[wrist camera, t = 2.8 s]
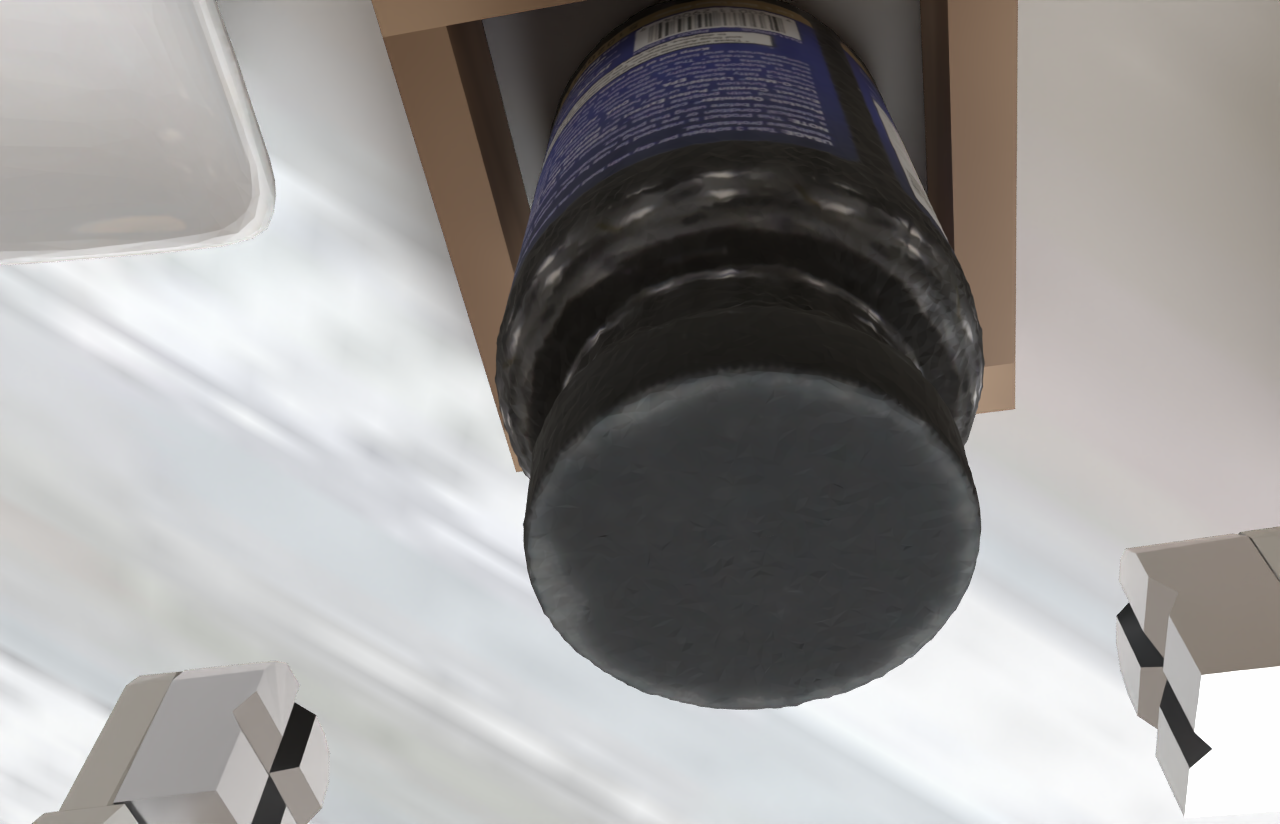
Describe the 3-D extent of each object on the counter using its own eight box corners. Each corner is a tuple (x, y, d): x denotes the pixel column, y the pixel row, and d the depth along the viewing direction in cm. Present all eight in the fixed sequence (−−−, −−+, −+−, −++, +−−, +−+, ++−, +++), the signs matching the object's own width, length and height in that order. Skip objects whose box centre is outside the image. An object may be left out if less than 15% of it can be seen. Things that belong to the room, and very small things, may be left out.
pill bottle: (499, 215, 21) (358, 637, 12) (650, -88, 18) (612, 171, 9) (775, 349, 23) (834, 817, 14) (958, 90, 20) (1196, 470, 10)
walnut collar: (978, -180, 17) (1018, -157, 15) (984, 339, 22) (1014, 408, 20) (398, -66, 18) (361, -31, 16) (531, 400, 24) (516, 471, 21)
